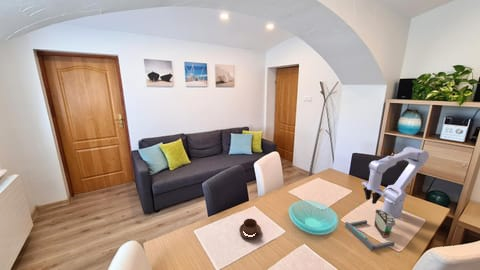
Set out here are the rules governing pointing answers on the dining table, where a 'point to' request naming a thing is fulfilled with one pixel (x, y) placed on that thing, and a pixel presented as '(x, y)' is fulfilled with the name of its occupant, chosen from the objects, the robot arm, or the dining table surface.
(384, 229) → the food container
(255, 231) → the cup and saucer
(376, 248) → the grey piece
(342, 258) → the dining table surface
